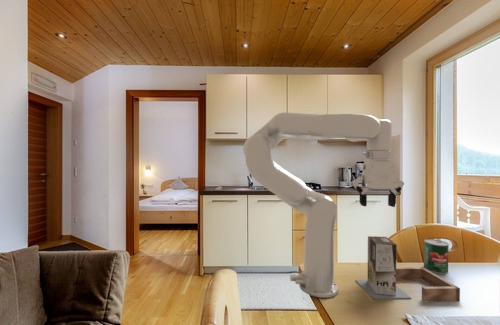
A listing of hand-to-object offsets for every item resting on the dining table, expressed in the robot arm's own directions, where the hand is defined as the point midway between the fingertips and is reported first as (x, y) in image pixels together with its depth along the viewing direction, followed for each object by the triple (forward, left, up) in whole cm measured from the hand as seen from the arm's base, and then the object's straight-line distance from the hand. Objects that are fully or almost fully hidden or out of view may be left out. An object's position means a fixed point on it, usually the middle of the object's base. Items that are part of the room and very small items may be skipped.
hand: (377, 205), depth 86 cm
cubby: (+14, -2, -27) cm, 31 cm away
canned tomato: (+31, +13, -28) cm, 44 cm away
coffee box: (0, -2, -27) cm, 27 cm away
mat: (0, -2, -27) cm, 28 cm away
